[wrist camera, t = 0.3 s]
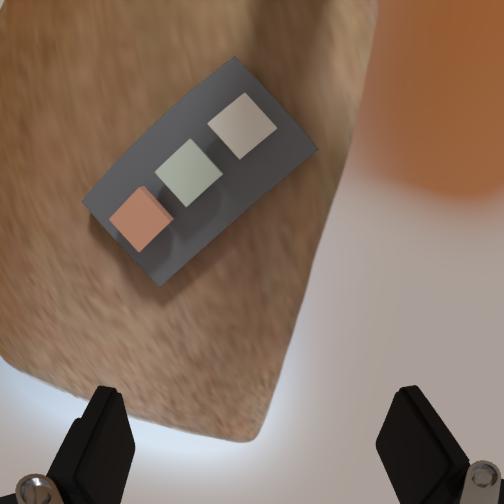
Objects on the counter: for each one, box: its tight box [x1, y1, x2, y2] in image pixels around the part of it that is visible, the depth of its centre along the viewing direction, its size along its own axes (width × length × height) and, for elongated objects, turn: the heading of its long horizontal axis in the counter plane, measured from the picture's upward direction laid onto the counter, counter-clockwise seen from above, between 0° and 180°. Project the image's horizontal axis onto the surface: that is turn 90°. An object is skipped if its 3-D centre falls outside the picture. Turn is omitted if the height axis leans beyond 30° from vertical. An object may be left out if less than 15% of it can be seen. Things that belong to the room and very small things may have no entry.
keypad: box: [82, 56, 319, 287], centre depth 35 cm, size 24×14×3 cm, turn 131°
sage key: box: [155, 139, 223, 207], centre depth 31 cm, size 5×5×2 cm
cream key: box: [207, 93, 277, 160], centre depth 30 cm, size 5×5×2 cm
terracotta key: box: [109, 186, 174, 252], centre depth 32 cm, size 5×5×2 cm
